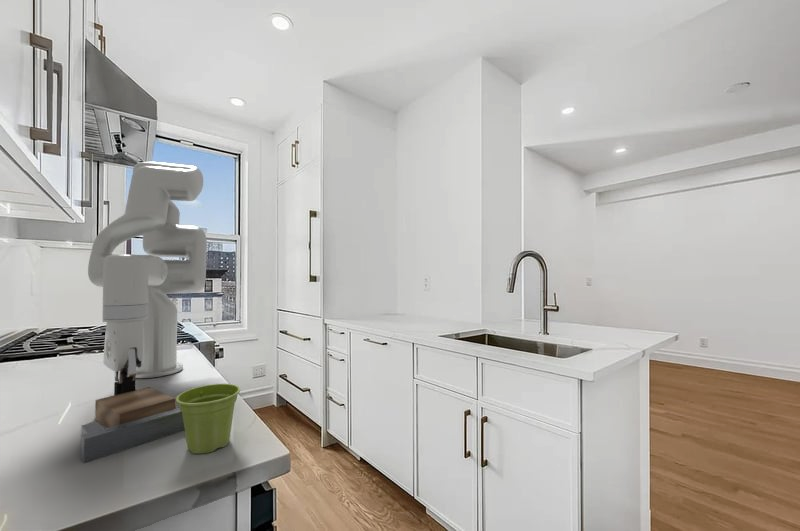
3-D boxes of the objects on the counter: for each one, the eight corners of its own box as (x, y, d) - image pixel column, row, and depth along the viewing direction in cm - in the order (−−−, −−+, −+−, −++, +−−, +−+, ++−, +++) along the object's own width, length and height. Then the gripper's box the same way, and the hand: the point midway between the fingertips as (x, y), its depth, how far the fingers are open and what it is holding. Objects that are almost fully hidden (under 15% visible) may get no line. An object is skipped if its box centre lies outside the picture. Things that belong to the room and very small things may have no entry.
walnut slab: (95, 420, 68) (95, 399, 68) (148, 405, 75) (148, 387, 75) (119, 436, 61) (119, 413, 61) (175, 418, 68) (175, 398, 69)
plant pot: (163, 463, 52) (164, 405, 52) (188, 434, 61) (189, 385, 61) (231, 457, 54) (231, 401, 54) (245, 429, 63) (246, 381, 63)
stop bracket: (73, 445, 57) (73, 424, 57) (202, 408, 73) (202, 391, 73) (84, 462, 52) (84, 439, 52) (220, 418, 68) (220, 400, 68)
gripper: (94, 311, 75) (93, 397, 75) (112, 318, 66) (111, 415, 66) (136, 308, 81) (135, 387, 81) (159, 314, 72) (158, 403, 71)
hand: (124, 400), depth 73 cm, fingers closed
